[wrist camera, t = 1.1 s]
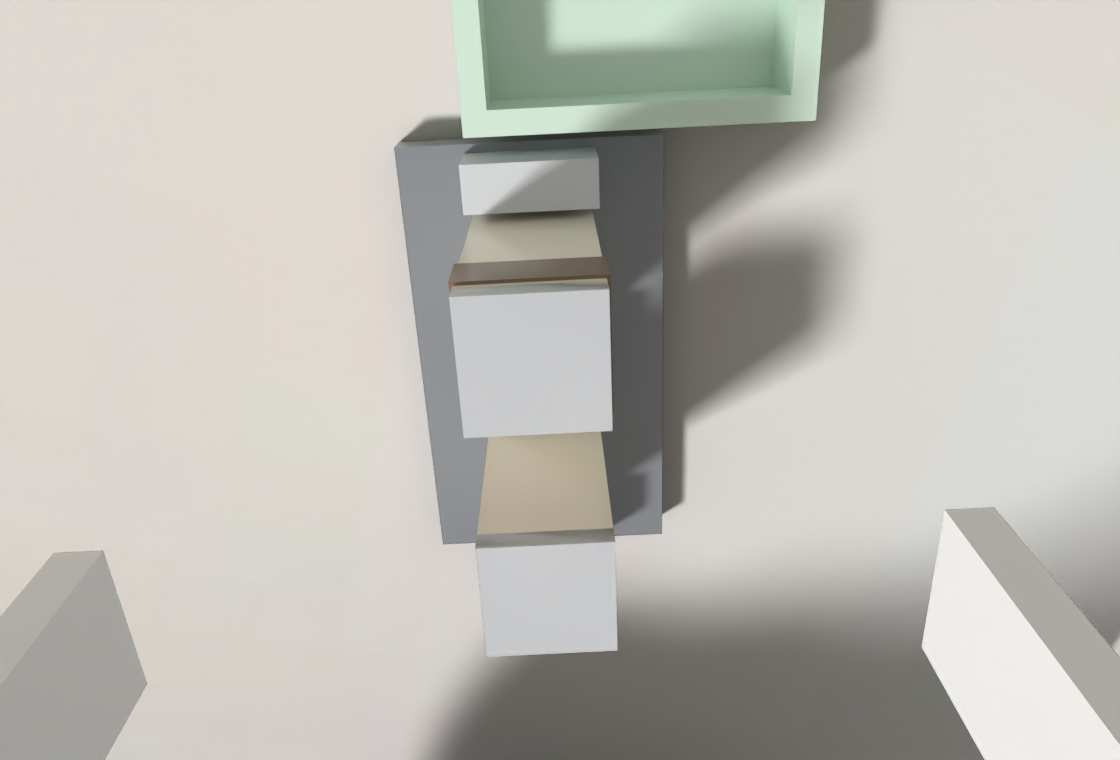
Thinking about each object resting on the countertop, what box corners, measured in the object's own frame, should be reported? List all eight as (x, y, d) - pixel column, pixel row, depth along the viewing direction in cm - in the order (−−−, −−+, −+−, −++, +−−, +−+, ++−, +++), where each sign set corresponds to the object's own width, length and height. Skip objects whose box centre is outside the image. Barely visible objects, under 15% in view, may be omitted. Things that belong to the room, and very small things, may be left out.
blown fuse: (596, 315, 32) (616, 433, 23) (481, 320, 32) (460, 441, 23) (593, 200, 30) (613, 285, 22) (471, 206, 30) (444, 293, 22)
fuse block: (658, 516, 37) (668, 563, 34) (445, 527, 37) (437, 574, 34) (659, 128, 30) (671, 144, 27) (399, 141, 30) (384, 159, 27)
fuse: (599, 490, 35) (617, 650, 27) (499, 495, 35) (486, 656, 27) (597, 401, 33) (615, 542, 25) (492, 406, 33) (475, 548, 25)
